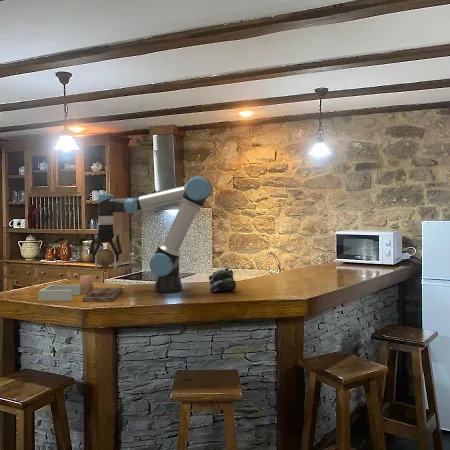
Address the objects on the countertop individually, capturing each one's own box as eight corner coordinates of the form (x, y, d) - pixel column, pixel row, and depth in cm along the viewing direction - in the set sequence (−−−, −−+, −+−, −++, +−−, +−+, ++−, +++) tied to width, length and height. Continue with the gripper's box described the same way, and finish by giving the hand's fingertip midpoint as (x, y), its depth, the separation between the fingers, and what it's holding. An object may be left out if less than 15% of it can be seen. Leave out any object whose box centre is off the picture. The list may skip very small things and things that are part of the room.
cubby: (80, 294, 246) (80, 284, 246) (71, 301, 230) (71, 290, 230) (50, 294, 246) (50, 284, 245) (38, 301, 230) (38, 290, 229)
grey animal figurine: (206, 293, 250) (203, 268, 256) (214, 298, 261) (211, 274, 266) (233, 286, 246) (229, 261, 252) (240, 291, 257) (236, 267, 263)
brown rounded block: (94, 291, 253) (94, 275, 253) (91, 294, 247) (91, 276, 246) (82, 291, 253) (82, 275, 253) (78, 294, 247) (78, 276, 246)
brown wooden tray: (122, 291, 254) (122, 287, 254) (112, 301, 228) (112, 297, 228) (96, 291, 254) (96, 287, 254) (82, 301, 228) (82, 297, 228)
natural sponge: (117, 266, 250) (117, 248, 250) (111, 269, 242) (111, 249, 241) (100, 266, 251) (100, 247, 251) (94, 269, 242) (94, 249, 242)
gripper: (128, 223, 249) (128, 266, 250) (86, 223, 249) (86, 266, 250) (125, 224, 242) (125, 268, 243) (82, 224, 241) (82, 268, 242)
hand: (106, 267), depth 246 cm, fingers closed on natural sponge, 9 cm apart
